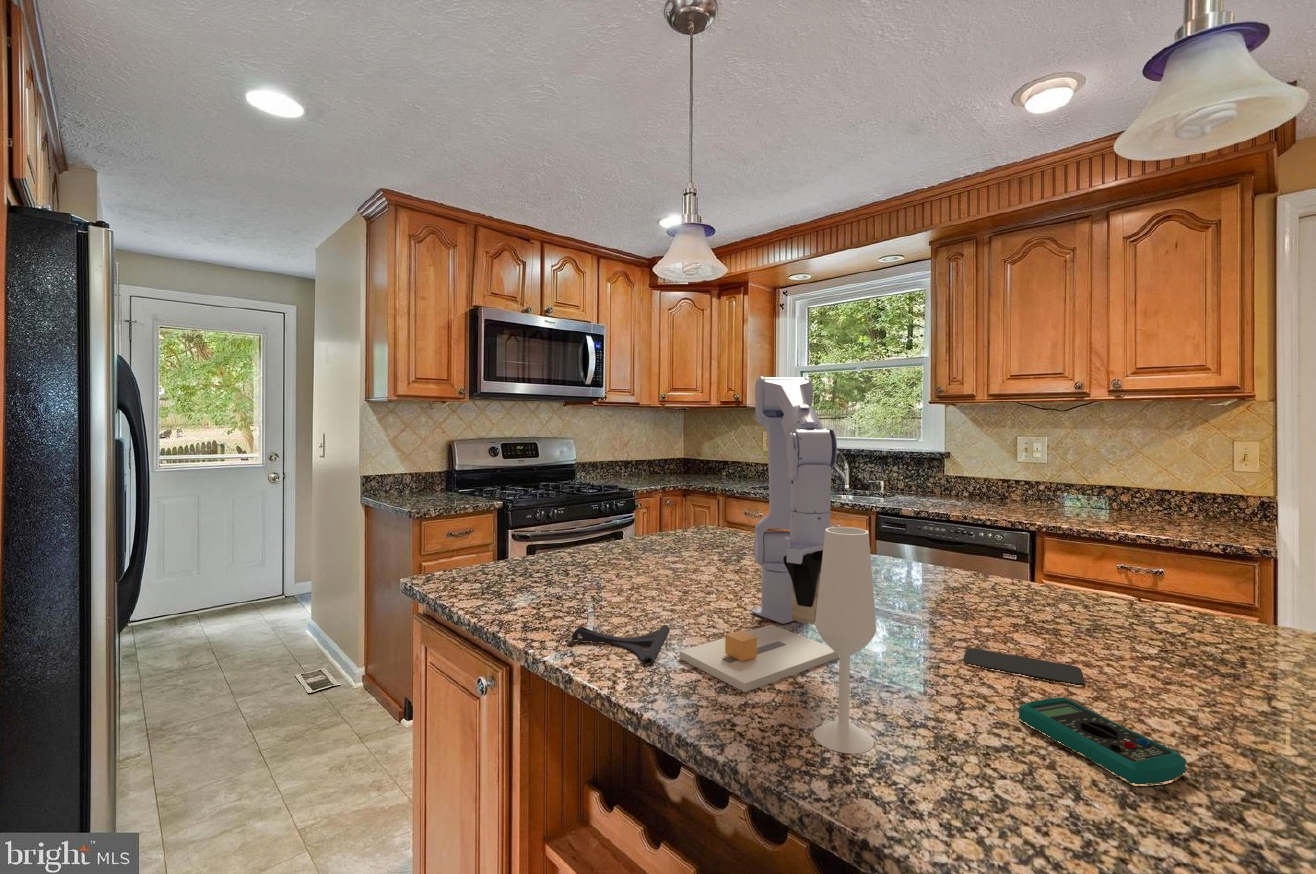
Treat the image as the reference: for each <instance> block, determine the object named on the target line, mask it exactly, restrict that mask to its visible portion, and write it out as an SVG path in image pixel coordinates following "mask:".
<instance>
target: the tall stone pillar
mask: <svg viewBox="0 0 1316 874" xmlns="http://www.w3.org/2000/svg"><path fill="white" fill-rule="evenodd" d="M819 583H820V574H819V577H818V580H817V585H816V592H815V599H814V603H813V606H812V607H806V606H800V605H798V604H797V601H796V596H795V592H794V587H793V583H792V620H795V622H801V623H807V624H812V625H813V624H814V625H815V619H816V610H817V601H818V592H819Z"/></svg>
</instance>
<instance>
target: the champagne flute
mask: <svg viewBox="0 0 1316 874" xmlns="http://www.w3.org/2000/svg"><path fill="white" fill-rule="evenodd" d="M871 557H872V556H871V546H870V532H869V531H868V530H867V529H865V528H864V529H863V528H858V527H849V526H830V528H826V529H825V538H824V547H823V556H822V565H821V574H820V583H819V592H818V601H817V610H816V619H815V623H814V626H815V629H816V630H817V633H818V635H819V636H820V637H821V639H822V641H823V642H824V643H825V644H826V645H827V646H829V647H830V648H831V649H832V650H833V651H835V652H836V653H838V654H839V658H838V660H839V663H838V665H839V666H838V719H836V720H834V721H831V722H828V723H824V724H821V725H819V726H817V727H816V728H815V729H814V730H813V738H814V739H815V741H816V742H817V743H818V744H819V745H821V746H822V747H825V748H826V749H829V750H831V751H834V752H838V753H842V754H853V755H854V754H861V753H865V752H868V751H870V750H871V749H872V748H873V747H874V746H875V745H874V744H875V741H874V739H873V737H872V735H871V734H869V733H868V732H867V731H865V730H864V729H862V728H860V727H859V726H857V725H855V724H854V723H852V722H850V684H851V683H850V680H851V678H850V676H851V675H850V674H851V670H850V669H851V656H853V655H856V654H857V653H858V652H860V651H862V650H863V649H864V648H865V647H866V646H867V645H869V643H870V642H871V641H872V640H873V639H874V637H875V635H876V632H877V621H876V620H877V619H876V609H875V607H876V606H875V597H874V596H875V594H874V585H873V582H874V581H873V571H872V570H873V569H872V558H871Z"/></svg>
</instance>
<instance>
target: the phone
mask: <svg viewBox="0 0 1316 874" xmlns="http://www.w3.org/2000/svg"><path fill="white" fill-rule="evenodd" d="M963 661H964V662H965V663H967V664H971V665H976V666H980V667H984V668H988V669H994V670H1000V671H1005V672H1010V673H1015V674H1021V675H1025V676H1029V677H1034V678H1039V679H1045V680H1049V681H1055V682H1065V683H1070V684H1075V685H1083V686H1084V684H1083V683H1084V675H1083V670H1082V669H1081V667H1078V666H1077V665H1076V666H1075V665H1072V664H1066V663H1060V662H1057V661H1056V662H1055V661H1049V660H1043V659H1039V658H1032V657H1026V656H1020V655H1015V654H1010V653H1009V654H1008V653H1003V652H998V651H991V650H986V649H980V648H973V647H969V648H966V650H965V653H964V656H963V659H962V662H963Z"/></svg>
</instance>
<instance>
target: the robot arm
mask: <svg viewBox="0 0 1316 874" xmlns="http://www.w3.org/2000/svg"><path fill="white" fill-rule="evenodd" d="M754 388H755V391H754V399H755V400H754V402H755V405H754V406H755V410H754V411H755V417H756V422H757V423H759V424H760V425H762V426H763V427H764V428H765V432H766V436H767V456H768V457H767V458H768V461H767V462H768V498H769V499H768V500H769V505H768V506H769V513H768V514H767V515H765V516H763V518H761V519H760V520H758V521H757V523H756V524H755V526H754V538H753V554H754V555H753V556H754V561H755V563H756V564H757V565H758V566H761V607H758V608H755V609H751V613H752V614H754V615H757V616H760V617H763V618H765V619H767V620H770V621H773V622H776V623H779V624H781V625H782V624H783V625H784V624H788V623H791V622H794V621H795V620H792V583H793V587H794V592H795V596H796V601H797V604H798V605H800V606H806V607H812V606H813V603H814V599H815V592H816V585H817V580H818V577H819V574H821V565H822V556H823V547H824V538H825V529H826V528H830V527H831V510H832V509H831V503H832V502H831V499H832V497H831V496H832V492H831V491H832V469H833V468H834V467H835V465H836V463H837V459H838V458H837V456H838V443H837V442H838V441H837V437H836V433H835V430H834V428H831V427H829V428H828V427H826V428H825V427H824V426H823V424H822V422H821V420H820V418H819V417H820V416H819V415H818V413H817V411H816V410H815V409H814V408H812V407H811V406H812V404H813V401H814V400H813V397H814V388H813V381H812V379H810V377H809V376H803V377H798V376H797V377H796V376H794V377H792V376H791V377H789V376H788V377H786V376H785V377H780V376H779V377H777V376H775V377H772V376H771V377H770V376H767V377H766V376H761V375H760V376H759V377H758V378H757V379H756V381H755V387H754ZM767 530H789V531H767ZM795 622H796V621H795Z"/></svg>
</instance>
